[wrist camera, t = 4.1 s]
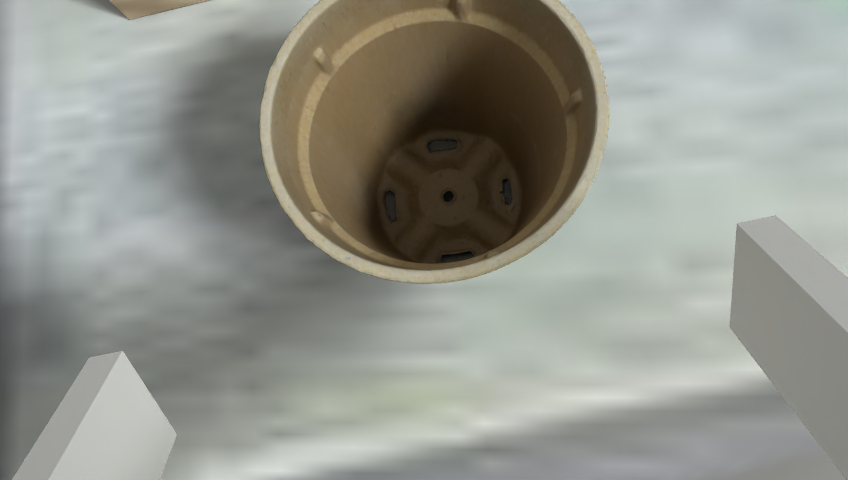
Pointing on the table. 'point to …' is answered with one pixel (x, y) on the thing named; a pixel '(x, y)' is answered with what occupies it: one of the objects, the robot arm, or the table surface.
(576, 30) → the flower pot
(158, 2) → the plinth
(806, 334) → the robot arm
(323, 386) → the table surface
